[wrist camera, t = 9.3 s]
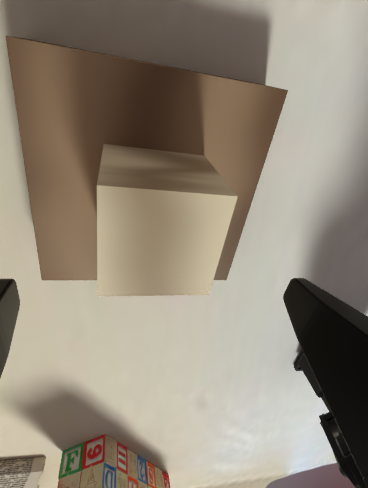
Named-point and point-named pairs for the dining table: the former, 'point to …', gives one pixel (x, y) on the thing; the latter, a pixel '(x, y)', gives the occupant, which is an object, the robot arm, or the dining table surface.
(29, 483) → the newspaper
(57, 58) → the walnut base slab
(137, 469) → the stack of blocks
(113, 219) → the maple cube
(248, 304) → the dining table surface
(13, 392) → the dining table surface
